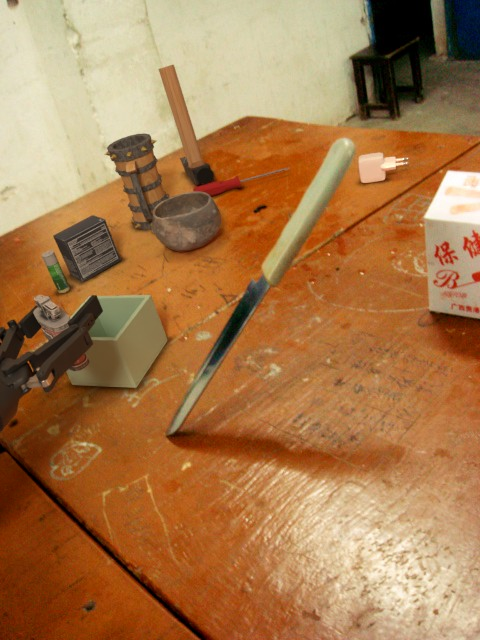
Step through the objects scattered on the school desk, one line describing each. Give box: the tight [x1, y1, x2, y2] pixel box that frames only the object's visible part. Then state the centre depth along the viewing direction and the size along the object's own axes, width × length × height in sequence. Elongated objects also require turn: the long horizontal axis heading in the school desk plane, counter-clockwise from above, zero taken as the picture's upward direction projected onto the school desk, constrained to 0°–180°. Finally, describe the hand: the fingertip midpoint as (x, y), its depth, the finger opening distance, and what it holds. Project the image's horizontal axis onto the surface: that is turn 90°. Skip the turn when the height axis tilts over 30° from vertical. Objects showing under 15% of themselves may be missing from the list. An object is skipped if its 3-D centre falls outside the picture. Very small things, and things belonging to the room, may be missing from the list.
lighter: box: [33, 294, 90, 372], centre depth 87 cm, size 8×3×10 cm, turn 40°
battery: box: [41, 249, 71, 295], centre depth 135 cm, size 3×3×10 cm
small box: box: [52, 214, 122, 283], centre depth 141 cm, size 11×6×10 cm, turn 130°
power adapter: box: [357, 151, 410, 184], centre depth 146 cm, size 11×5×6 cm, turn 78°
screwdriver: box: [192, 167, 291, 197], centre depth 162 cm, size 4×25×4 cm, turn 97°
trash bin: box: [65, 294, 169, 389], centre depth 107 cm, size 13×13×10 cm
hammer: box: [158, 64, 215, 186], centre depth 170 cm, size 20×5×30 cm, turn 17°
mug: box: [103, 132, 170, 230], centre depth 152 cm, size 13×17×20 cm
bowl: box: [150, 191, 222, 252], centre depth 139 cm, size 14×15×10 cm
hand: (73, 303), depth 90 cm, fingers closed on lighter, 7 cm apart
